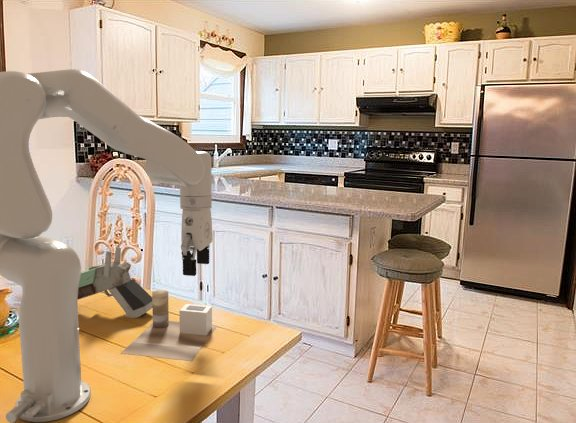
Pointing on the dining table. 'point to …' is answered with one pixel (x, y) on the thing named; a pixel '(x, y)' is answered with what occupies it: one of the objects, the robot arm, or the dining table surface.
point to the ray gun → (115, 285)
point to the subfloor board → (168, 343)
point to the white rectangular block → (195, 319)
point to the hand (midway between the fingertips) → (196, 269)
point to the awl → (160, 308)
